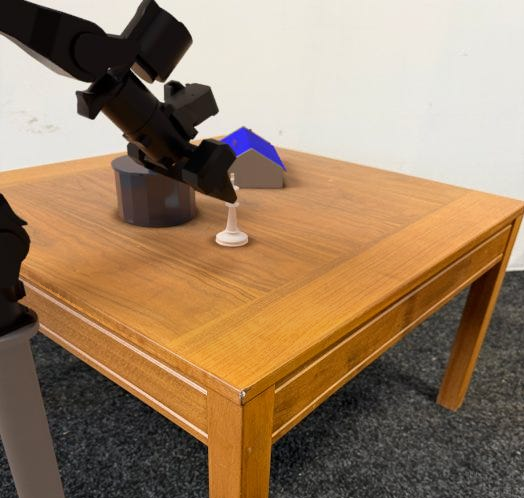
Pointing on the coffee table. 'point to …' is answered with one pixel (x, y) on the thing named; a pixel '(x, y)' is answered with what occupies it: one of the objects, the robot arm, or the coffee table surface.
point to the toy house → (254, 160)
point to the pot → (154, 200)
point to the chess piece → (232, 226)
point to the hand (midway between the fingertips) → (215, 192)
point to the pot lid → (131, 167)
